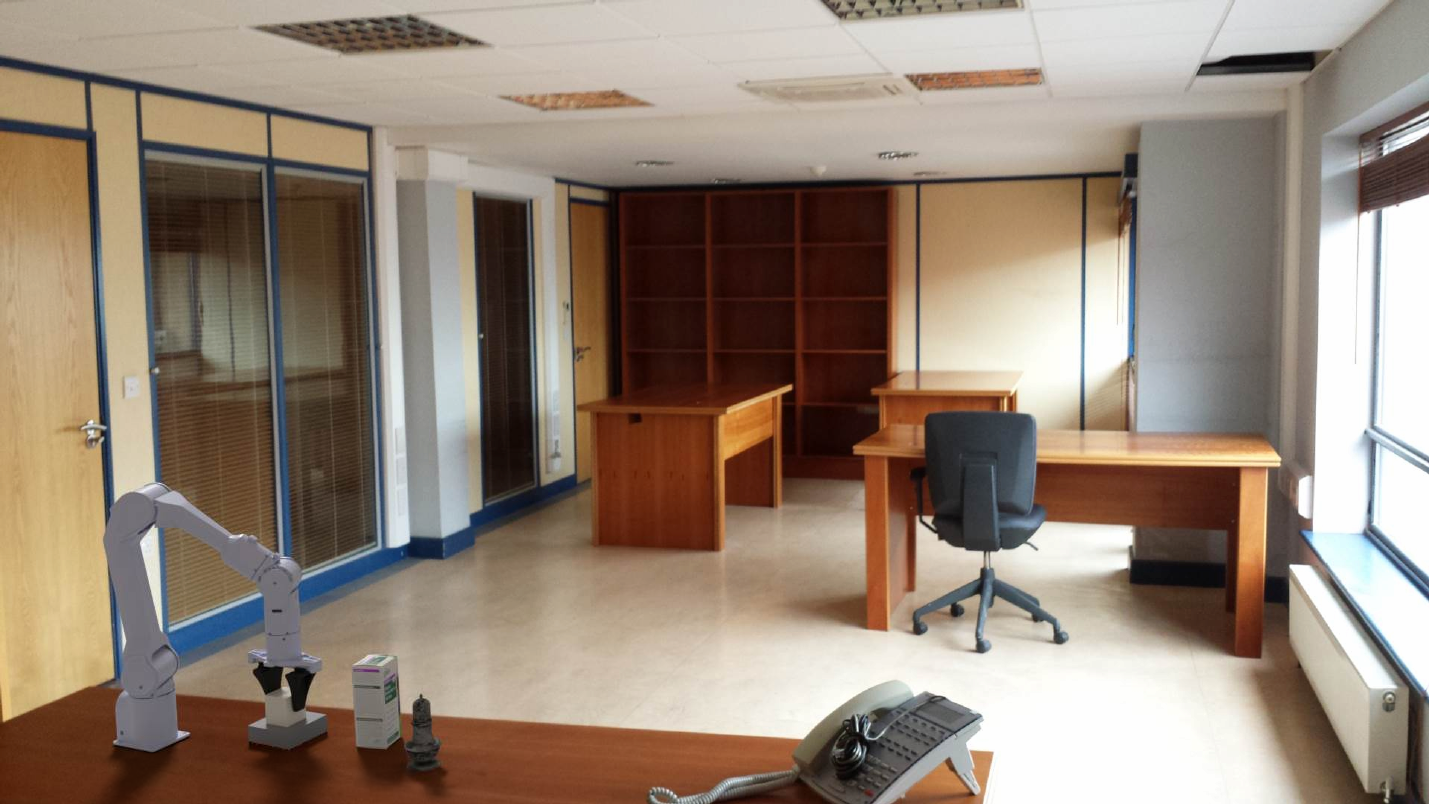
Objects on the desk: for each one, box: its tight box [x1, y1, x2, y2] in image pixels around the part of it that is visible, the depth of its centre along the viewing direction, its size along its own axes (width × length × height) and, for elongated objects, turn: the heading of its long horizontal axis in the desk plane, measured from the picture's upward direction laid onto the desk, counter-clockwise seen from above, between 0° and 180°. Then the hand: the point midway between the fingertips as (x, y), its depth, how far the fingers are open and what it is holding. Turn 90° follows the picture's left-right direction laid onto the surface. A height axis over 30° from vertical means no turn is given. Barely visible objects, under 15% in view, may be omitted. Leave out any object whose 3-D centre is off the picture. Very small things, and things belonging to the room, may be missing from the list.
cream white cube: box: [264, 686, 307, 727], centre depth 203 cm, size 5×5×5 cm
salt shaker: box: [403, 693, 442, 773], centre depth 191 cm, size 6×6×12 cm
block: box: [247, 710, 328, 749], centre depth 204 cm, size 9×9×3 cm
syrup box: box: [350, 653, 403, 750], centre depth 200 cm, size 6×6×14 cm
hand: (286, 707), depth 203 cm, fingers open, 5 cm apart
